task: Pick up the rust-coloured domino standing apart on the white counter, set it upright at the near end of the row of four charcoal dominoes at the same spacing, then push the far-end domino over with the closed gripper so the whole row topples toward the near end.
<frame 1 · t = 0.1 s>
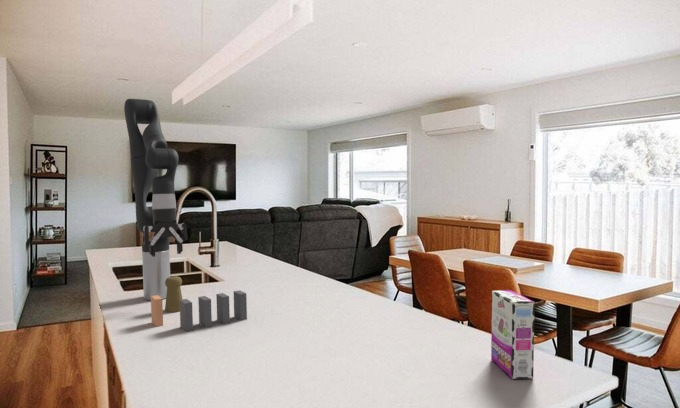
hand: (166, 255, 158), 17 cm above the worktop, tool pointing down, fingers open, 8 cm apart
domino 2: (205, 325, 137), on the worktop
domino 1: (186, 328, 133), on the worktop
candy bar box: (511, 370, 102), on the worktop
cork: (174, 310, 153), on the worktop
domino 3: (223, 321, 140), on the worktop
domino 4: (240, 318, 143), on the worktop
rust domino: (157, 323, 138), on the worktop
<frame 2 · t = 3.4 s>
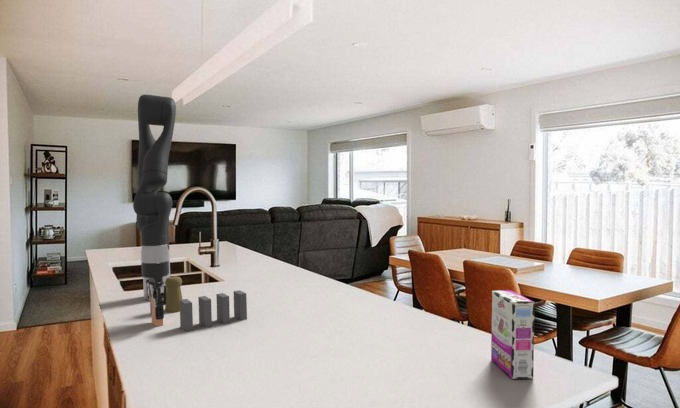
hand: (157, 316, 138), 2 cm above the worktop, tool pointing down, fingers closed on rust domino, 5 cm apart
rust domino: (157, 323, 138), on the worktop, touching gripper
everything else where it was.
when the fingers open (3 cm above the worktop, at t = 8.7 s): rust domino stays where it is, on the worktop.
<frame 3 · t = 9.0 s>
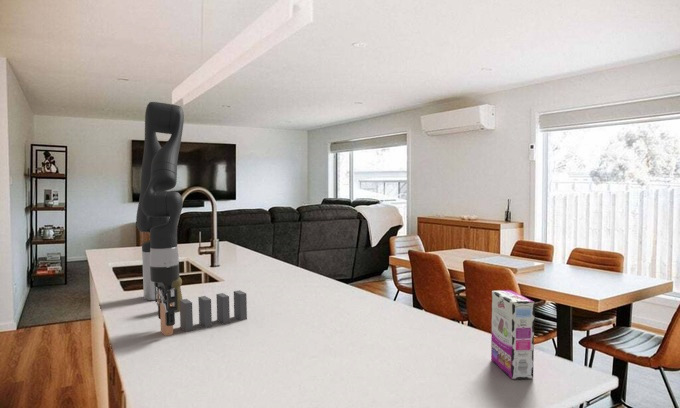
hand: (166, 321, 130), 3 cm above the worktop, tool pointing down, fingers open, 7 cm apart
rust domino: (166, 332, 130), on the worktop
everything else where it was.
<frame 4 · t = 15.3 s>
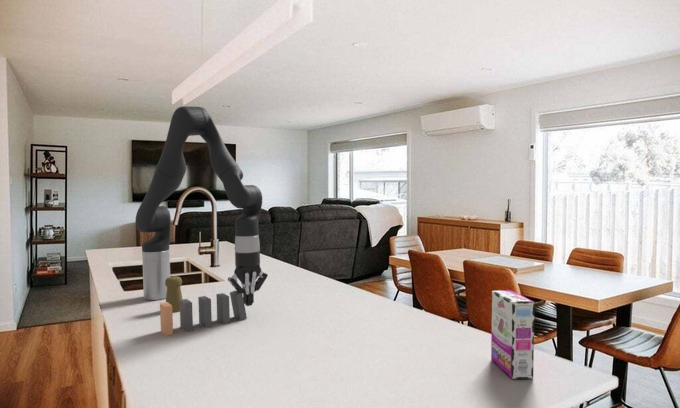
hand: (248, 305, 145), 3 cm above the worktop, tool pointing down, fingers closed
domino 4: (240, 317, 143), on the worktop, tilted 9°
everything else where it was.
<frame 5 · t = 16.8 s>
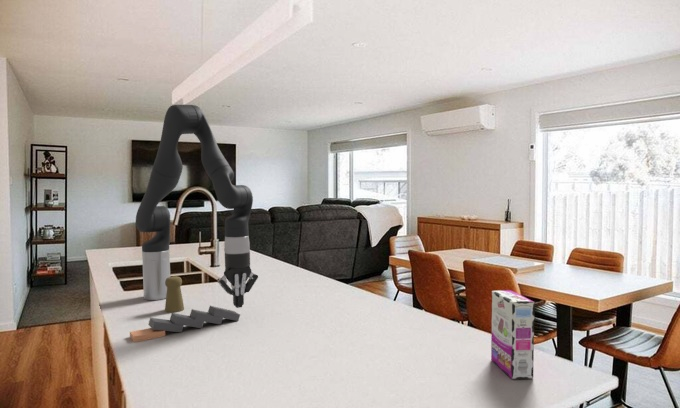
hand: (238, 306, 142), 4 cm above the worktop, tool pointing down, fingers closed
domino 2: (199, 322, 136), point 1 cm above the worktop, tilted 70°, touching domino 1, domino 3
domino 1: (179, 326, 132), point 1 cm above the worktop, tilted 72°, touching domino 2
domino 3: (218, 319, 139), point 1 cm above the worktop, tilted 69°, touching domino 2, domino 4
domino 4: (235, 315, 142), point 1 cm above the worktop, tilted 68°, touching domino 3
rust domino: (162, 331, 129), on the worktop, tilted 90°
everything else where it was.
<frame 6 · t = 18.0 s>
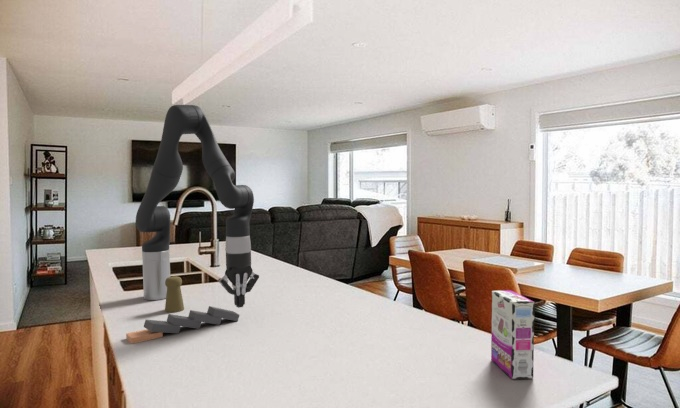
hand: (239, 306, 143), 4 cm above the worktop, tool pointing down, fingers closed
domino 1: (175, 327, 131), point 1 cm above the worktop, tilted 72°, touching domino 2
domino 3: (217, 319, 139), point 1 cm above the worktop, tilted 71°, touching domino 2
domino 4: (235, 316, 142), point 1 cm above the worktop, tilted 69°
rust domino: (159, 333, 129), on the worktop, tilted 90°
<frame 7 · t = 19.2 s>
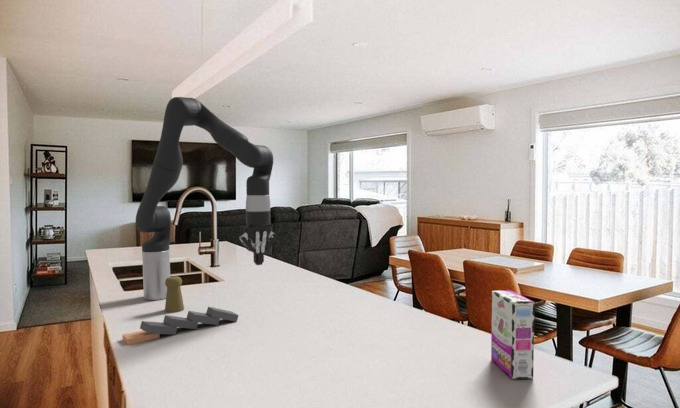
hand: (258, 264, 146), 16 cm above the worktop, tool pointing down, fingers closed
domino 2: (193, 323, 135), point 1 cm above the worktop, tilted 71°, touching domino 1
domino 1: (171, 328, 130), point 1 cm above the worktop, tilted 72°, touching domino 2, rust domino
domino 3: (216, 319, 138), point 1 cm above the worktop, tilted 71°, touching domino 4
domino 4: (234, 316, 141), point 1 cm above the worktop, tilted 69°, touching domino 3
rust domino: (156, 333, 128), on the worktop, tilted 90°, touching domino 1
everything else where it was.
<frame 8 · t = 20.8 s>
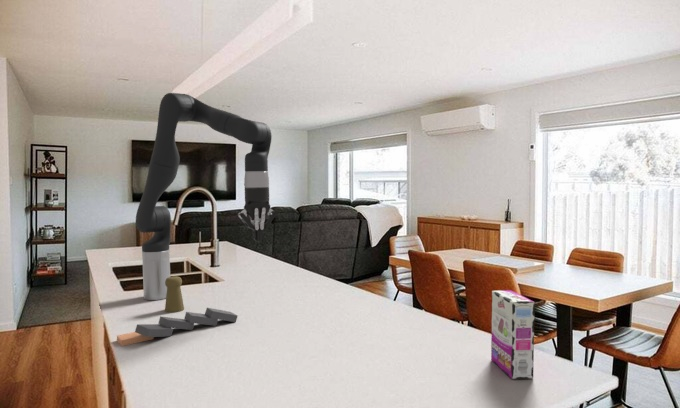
hand: (258, 241, 146), 23 cm above the worktop, tool pointing down, fingers closed
domino 2: (189, 324, 134), point 1 cm above the worktop, tilted 71°, touching domino 1, domino 3
domino 1: (165, 330, 128), point 1 cm above the worktop, tilted 74°, touching domino 2, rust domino
domino 3: (214, 320, 138), point 1 cm above the worktop, tilted 72°, touching domino 2, domino 4
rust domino: (150, 335, 127), on the worktop, tilted 90°, touching domino 1
everything else where it was.
at the end: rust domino inside the target area (4.3 cm from its centre), on the worktop; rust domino tilted 90°; domino 2 tilted 71° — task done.
